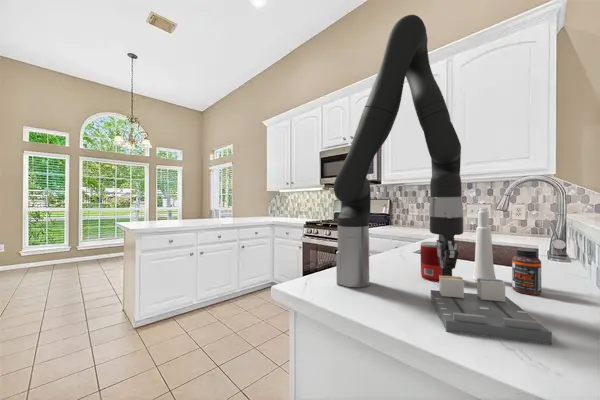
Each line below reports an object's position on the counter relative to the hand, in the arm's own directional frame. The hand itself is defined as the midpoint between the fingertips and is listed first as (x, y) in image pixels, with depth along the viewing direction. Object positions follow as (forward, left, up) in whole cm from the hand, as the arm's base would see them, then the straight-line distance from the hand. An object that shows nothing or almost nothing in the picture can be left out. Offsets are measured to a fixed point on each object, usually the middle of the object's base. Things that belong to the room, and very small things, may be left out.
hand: (446, 282), depth 68 cm
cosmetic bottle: (+14, +19, -4) cm, 24 cm away
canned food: (0, +17, -4) cm, 17 cm away
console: (+4, -11, -4) cm, 12 cm away
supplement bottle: (+21, +10, -4) cm, 23 cm away
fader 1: (0, -5, -1) cm, 5 cm away
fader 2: (+8, -5, -1) cm, 10 cm away
